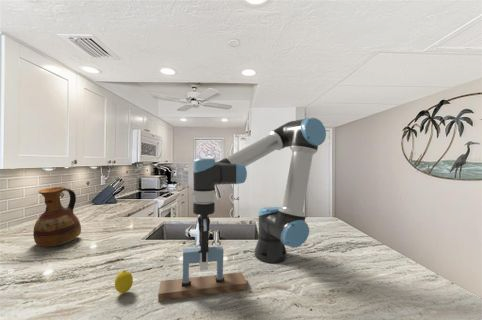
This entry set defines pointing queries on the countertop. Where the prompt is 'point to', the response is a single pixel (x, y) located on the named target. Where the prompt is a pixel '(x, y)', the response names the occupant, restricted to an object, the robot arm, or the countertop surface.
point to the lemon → (123, 282)
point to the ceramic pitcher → (56, 219)
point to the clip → (194, 257)
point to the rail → (201, 286)
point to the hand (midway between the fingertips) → (203, 267)
